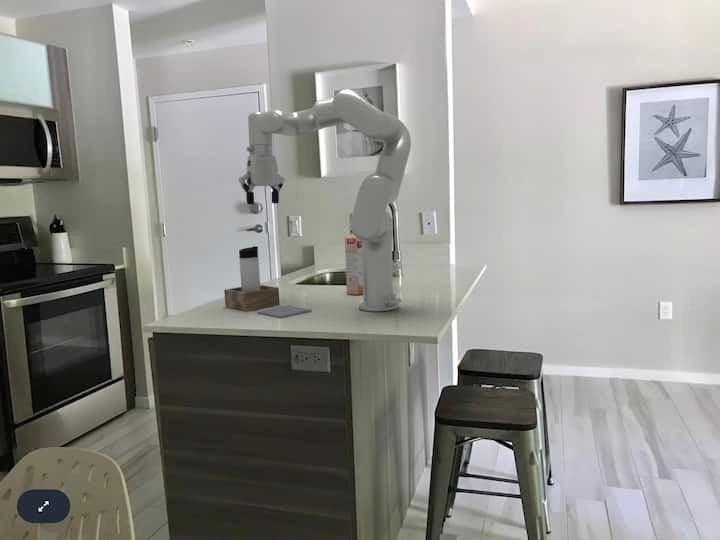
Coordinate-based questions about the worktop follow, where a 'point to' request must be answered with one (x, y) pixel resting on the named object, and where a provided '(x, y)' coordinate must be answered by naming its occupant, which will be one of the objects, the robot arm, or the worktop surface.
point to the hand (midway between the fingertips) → (263, 203)
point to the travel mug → (249, 269)
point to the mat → (284, 311)
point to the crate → (252, 298)
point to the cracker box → (354, 265)
